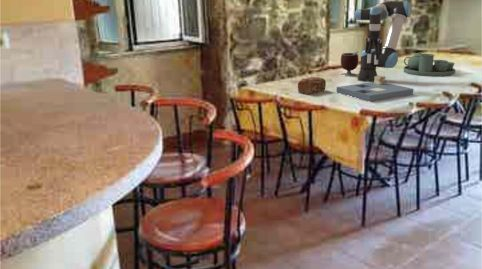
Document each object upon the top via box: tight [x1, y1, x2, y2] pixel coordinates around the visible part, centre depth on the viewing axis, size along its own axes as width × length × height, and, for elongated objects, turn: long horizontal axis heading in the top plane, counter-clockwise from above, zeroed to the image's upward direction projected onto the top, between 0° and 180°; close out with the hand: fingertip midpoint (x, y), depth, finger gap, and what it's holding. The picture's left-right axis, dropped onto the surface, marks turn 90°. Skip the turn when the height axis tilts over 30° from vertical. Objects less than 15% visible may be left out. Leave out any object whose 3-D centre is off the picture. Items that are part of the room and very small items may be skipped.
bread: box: [297, 76, 327, 95], centre depth 328 cm, size 19×11×10 cm, turn 131°
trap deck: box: [336, 81, 414, 102], centre depth 319 cm, size 38×32×4 cm
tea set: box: [403, 51, 456, 77], centre depth 393 cm, size 40×40×16 cm
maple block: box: [373, 75, 386, 85], centre depth 331 cm, size 5×5×5 cm
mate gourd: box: [340, 51, 359, 77], centre depth 385 cm, size 16×14×20 cm
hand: (372, 63), depth 335 cm, fingers open, 6 cm apart
